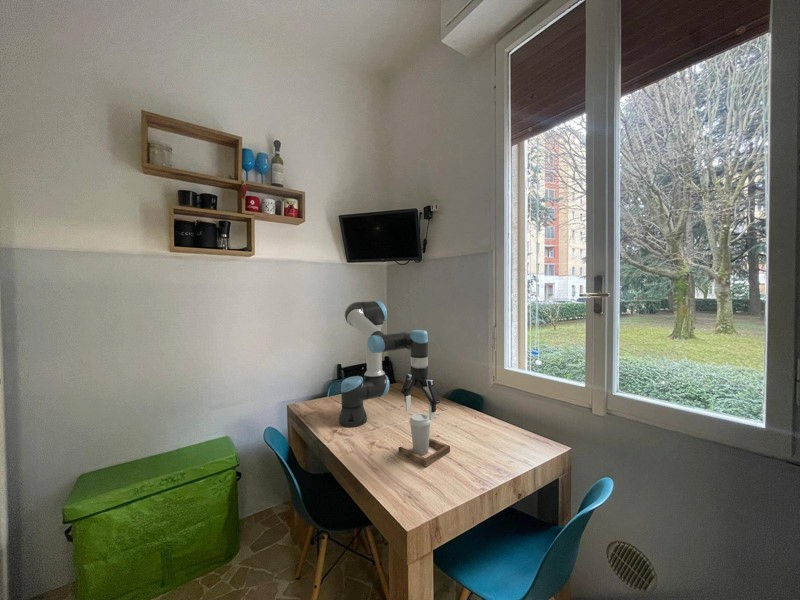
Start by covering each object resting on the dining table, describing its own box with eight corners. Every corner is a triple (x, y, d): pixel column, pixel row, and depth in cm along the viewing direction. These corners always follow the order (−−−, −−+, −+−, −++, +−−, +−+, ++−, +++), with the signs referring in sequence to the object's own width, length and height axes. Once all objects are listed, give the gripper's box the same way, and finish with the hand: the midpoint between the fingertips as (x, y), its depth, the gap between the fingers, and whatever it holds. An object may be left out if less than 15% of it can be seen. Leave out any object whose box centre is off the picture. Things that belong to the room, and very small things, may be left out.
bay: (398, 453, 130) (398, 447, 130) (422, 440, 142) (422, 434, 142) (426, 467, 120) (426, 461, 120) (450, 451, 131) (450, 446, 131)
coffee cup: (430, 457, 126) (429, 422, 126) (408, 455, 128) (407, 420, 128) (433, 446, 136) (432, 413, 136) (411, 444, 138) (411, 412, 137)
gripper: (392, 362, 137) (393, 409, 138) (436, 373, 120) (437, 426, 121) (404, 360, 143) (405, 404, 144) (448, 369, 125) (448, 420, 126)
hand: (419, 414), depth 132 cm, fingers open, 13 cm apart
